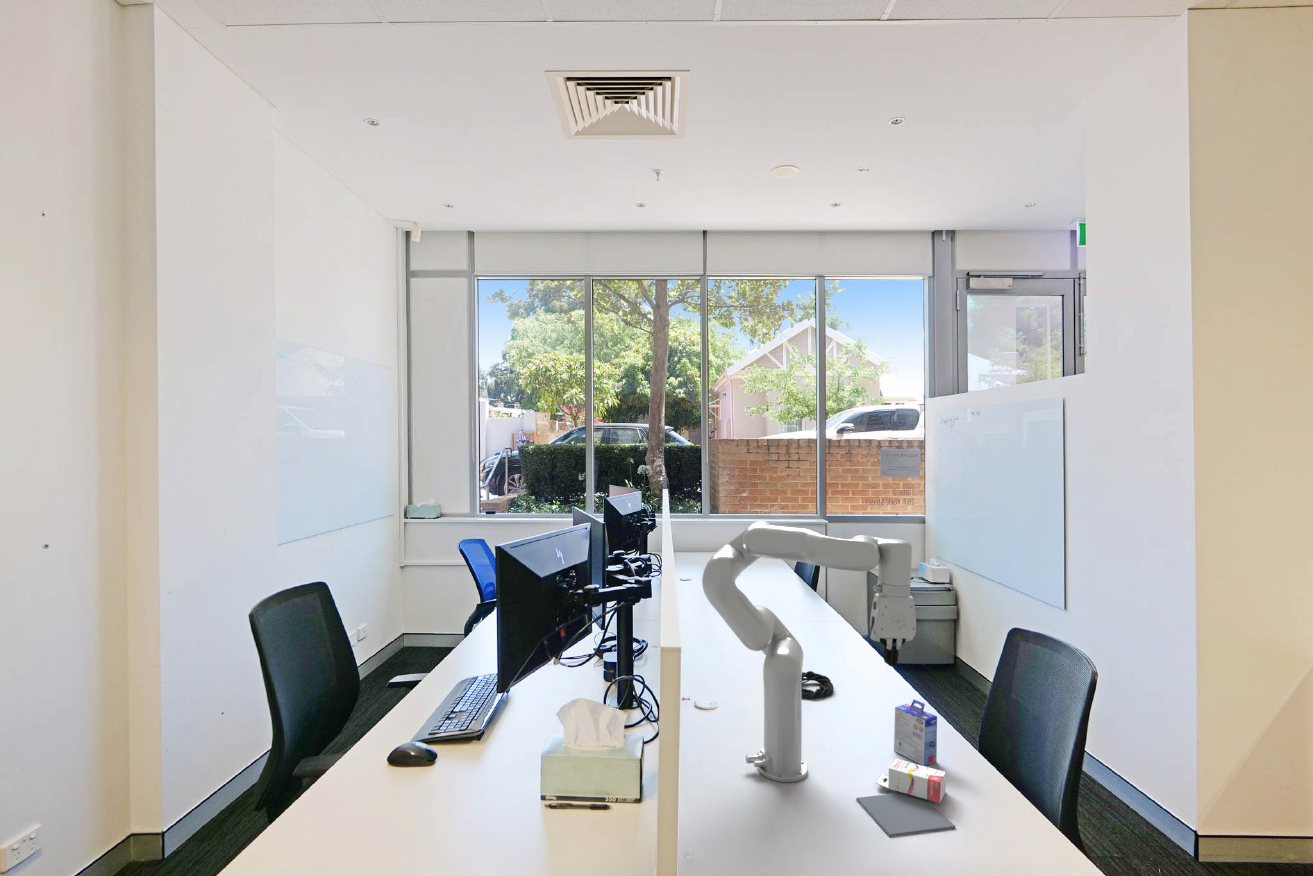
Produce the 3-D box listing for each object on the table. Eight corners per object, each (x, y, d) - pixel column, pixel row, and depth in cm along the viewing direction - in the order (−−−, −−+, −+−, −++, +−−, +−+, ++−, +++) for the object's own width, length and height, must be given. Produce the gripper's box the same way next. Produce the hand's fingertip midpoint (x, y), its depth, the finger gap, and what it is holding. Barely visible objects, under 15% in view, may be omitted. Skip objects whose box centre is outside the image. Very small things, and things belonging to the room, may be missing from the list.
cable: (819, 680, 225) (819, 667, 225) (846, 694, 212) (846, 681, 212) (779, 687, 218) (779, 674, 218) (804, 703, 205) (804, 689, 205)
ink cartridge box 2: (940, 781, 147) (875, 764, 154) (940, 804, 146) (874, 785, 154) (946, 770, 154) (883, 754, 162) (945, 792, 153) (882, 775, 161)
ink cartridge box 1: (938, 761, 167) (938, 707, 167) (925, 767, 164) (925, 711, 165) (906, 746, 176) (906, 694, 176) (893, 751, 173) (893, 698, 173)
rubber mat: (889, 836, 136) (889, 834, 136) (856, 799, 149) (856, 797, 149) (955, 828, 139) (955, 826, 139) (917, 793, 153) (917, 790, 153)
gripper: (872, 593, 151) (869, 670, 151) (930, 593, 153) (927, 669, 153) (858, 586, 158) (855, 659, 158) (913, 586, 160) (910, 658, 160)
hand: (890, 663), depth 156 cm, fingers closed
